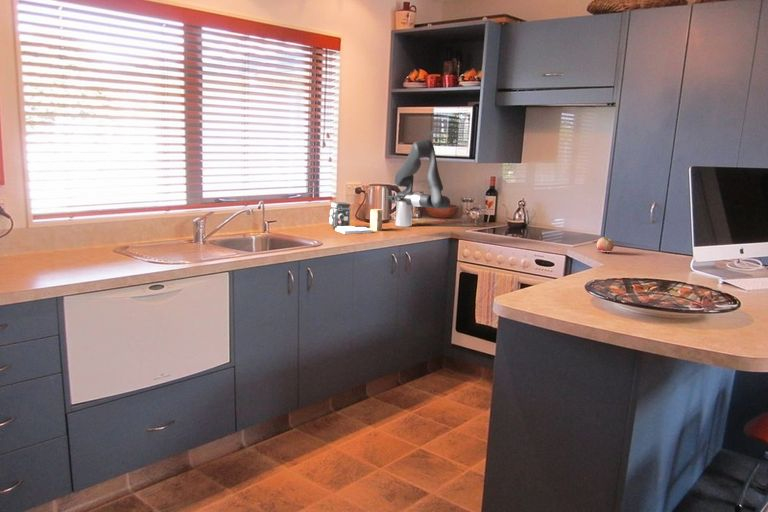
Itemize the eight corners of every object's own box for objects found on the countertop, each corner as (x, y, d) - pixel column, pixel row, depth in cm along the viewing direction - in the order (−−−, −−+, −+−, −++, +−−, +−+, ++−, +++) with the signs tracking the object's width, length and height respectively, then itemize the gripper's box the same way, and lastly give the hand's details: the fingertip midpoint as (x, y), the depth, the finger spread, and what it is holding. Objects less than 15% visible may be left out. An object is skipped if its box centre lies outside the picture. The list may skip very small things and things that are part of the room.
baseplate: (363, 229, 356) (363, 225, 355) (373, 232, 346) (373, 228, 345) (335, 230, 347) (335, 226, 347) (344, 233, 337) (344, 229, 336)
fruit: (606, 254, 309) (608, 239, 308) (592, 252, 316) (594, 236, 314) (615, 253, 314) (617, 238, 313) (602, 250, 320) (603, 235, 319)
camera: (327, 227, 358) (327, 201, 355) (344, 226, 362) (344, 201, 360) (333, 230, 349) (334, 203, 346) (350, 229, 353) (351, 203, 350)
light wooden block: (375, 229, 359) (375, 208, 357) (381, 230, 356) (382, 209, 354) (369, 230, 355) (370, 209, 353) (376, 231, 352) (377, 210, 350)
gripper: (423, 192, 340) (399, 189, 350) (408, 193, 329) (384, 190, 339) (422, 205, 342) (399, 203, 352) (407, 207, 331) (384, 204, 340)
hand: (392, 197), depth 345 cm, fingers open, 8 cm apart
